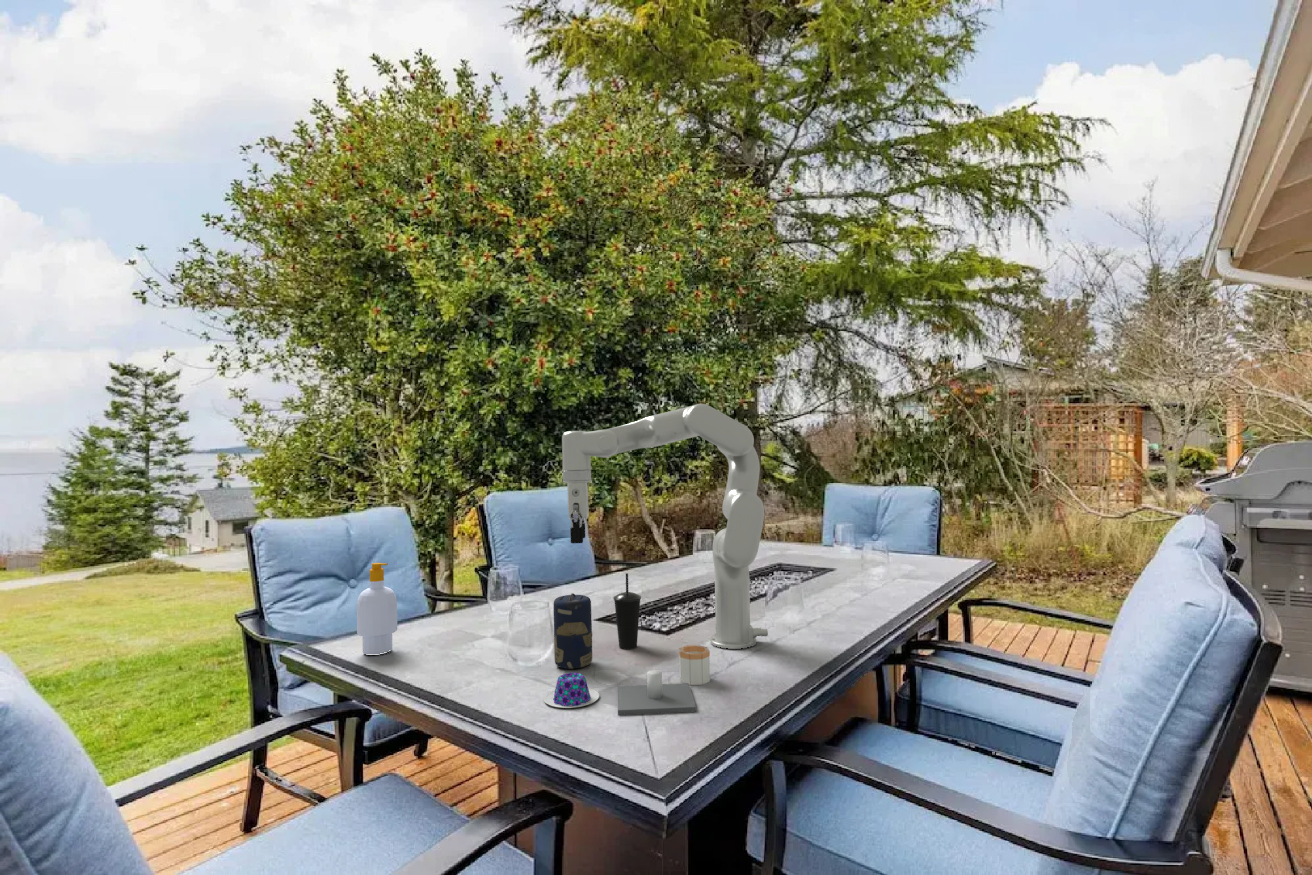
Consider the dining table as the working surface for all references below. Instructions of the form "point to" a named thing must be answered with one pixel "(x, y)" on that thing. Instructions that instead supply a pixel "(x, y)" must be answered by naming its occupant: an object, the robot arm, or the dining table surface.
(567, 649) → the canister
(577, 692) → the pudding
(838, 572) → the dining table surface
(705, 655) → the vent collar
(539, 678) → the dining table surface
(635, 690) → the base
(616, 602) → the drinking cup
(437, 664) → the dining table surface
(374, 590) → the soap bottle
